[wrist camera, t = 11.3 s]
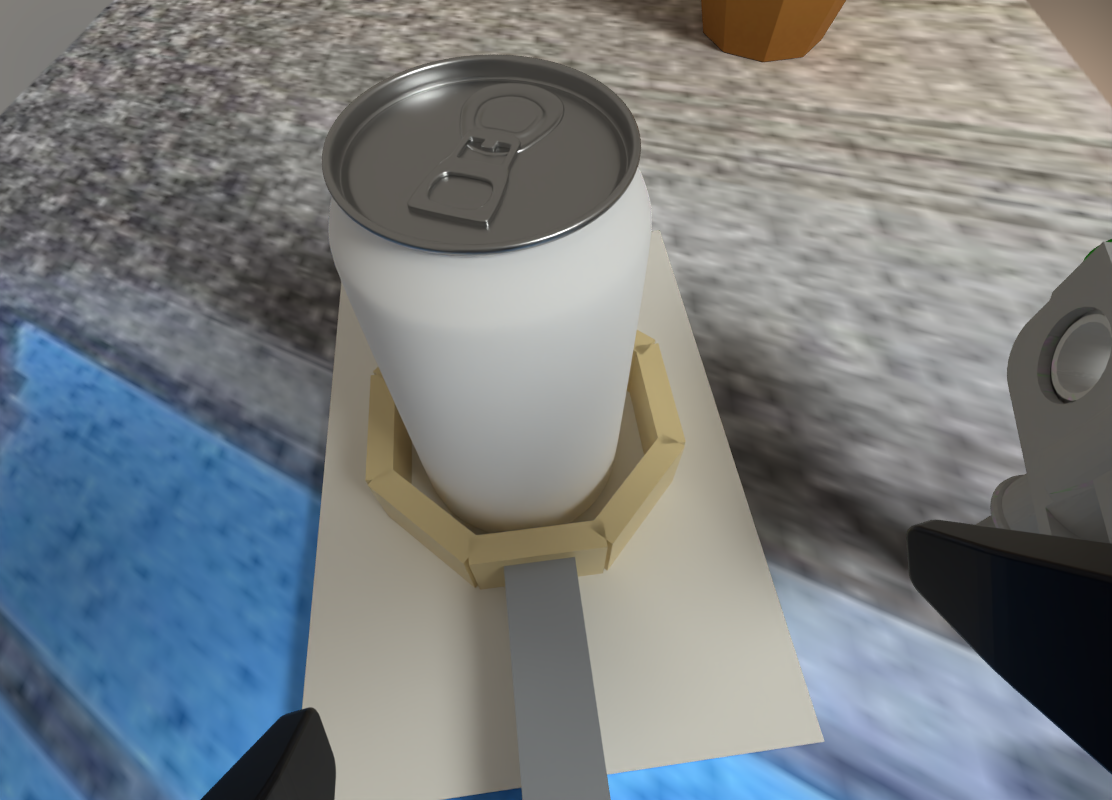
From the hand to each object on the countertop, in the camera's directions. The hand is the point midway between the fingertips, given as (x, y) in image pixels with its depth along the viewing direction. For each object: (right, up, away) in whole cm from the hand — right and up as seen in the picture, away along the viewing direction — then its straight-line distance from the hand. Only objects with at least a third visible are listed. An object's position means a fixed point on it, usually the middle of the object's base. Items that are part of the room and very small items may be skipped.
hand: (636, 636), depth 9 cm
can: (-2, +2, +12) cm, 13 cm away
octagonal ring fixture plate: (-2, +1, +13) cm, 13 cm away
